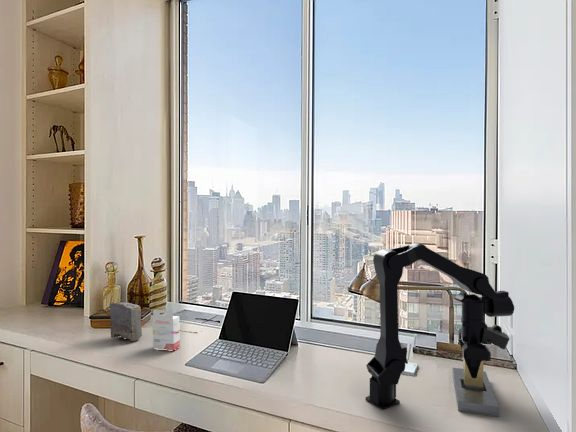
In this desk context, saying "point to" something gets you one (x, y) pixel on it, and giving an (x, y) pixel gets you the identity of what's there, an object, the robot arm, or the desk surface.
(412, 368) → the hard drive
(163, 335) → the ink cartridge box
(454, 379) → the grey flat rectangular block
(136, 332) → the geological specimen
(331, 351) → the desk surface
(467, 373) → the brass block
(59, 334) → the desk surface
